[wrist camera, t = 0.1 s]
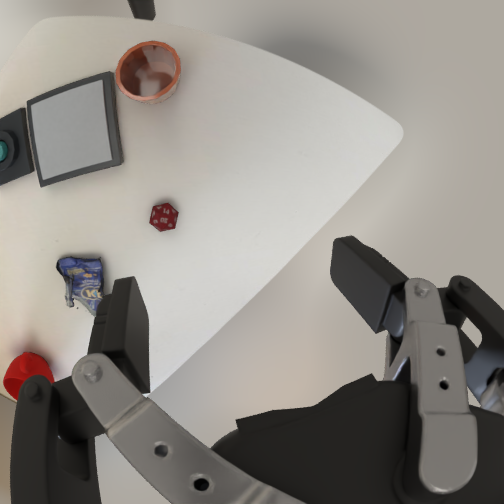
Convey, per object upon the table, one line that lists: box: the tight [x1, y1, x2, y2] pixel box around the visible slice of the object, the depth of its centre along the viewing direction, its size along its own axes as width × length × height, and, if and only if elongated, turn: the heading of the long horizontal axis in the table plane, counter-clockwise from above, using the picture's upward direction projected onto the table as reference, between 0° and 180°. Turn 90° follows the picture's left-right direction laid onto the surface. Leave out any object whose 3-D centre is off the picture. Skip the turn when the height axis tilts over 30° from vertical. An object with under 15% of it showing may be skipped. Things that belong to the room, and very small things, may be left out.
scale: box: [27, 71, 123, 187], centre depth 27 cm, size 13×13×2 cm
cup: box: [116, 41, 181, 104], centre depth 25 cm, size 6×6×10 cm
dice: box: [149, 203, 179, 232], centre depth 37 cm, size 4×4×4 cm
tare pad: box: [0, 108, 34, 186], centre depth 24 cm, size 10×8×3 cm
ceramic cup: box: [3, 352, 55, 400], centre depth 39 cm, size 13×17×10 cm
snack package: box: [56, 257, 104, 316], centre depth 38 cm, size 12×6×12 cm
